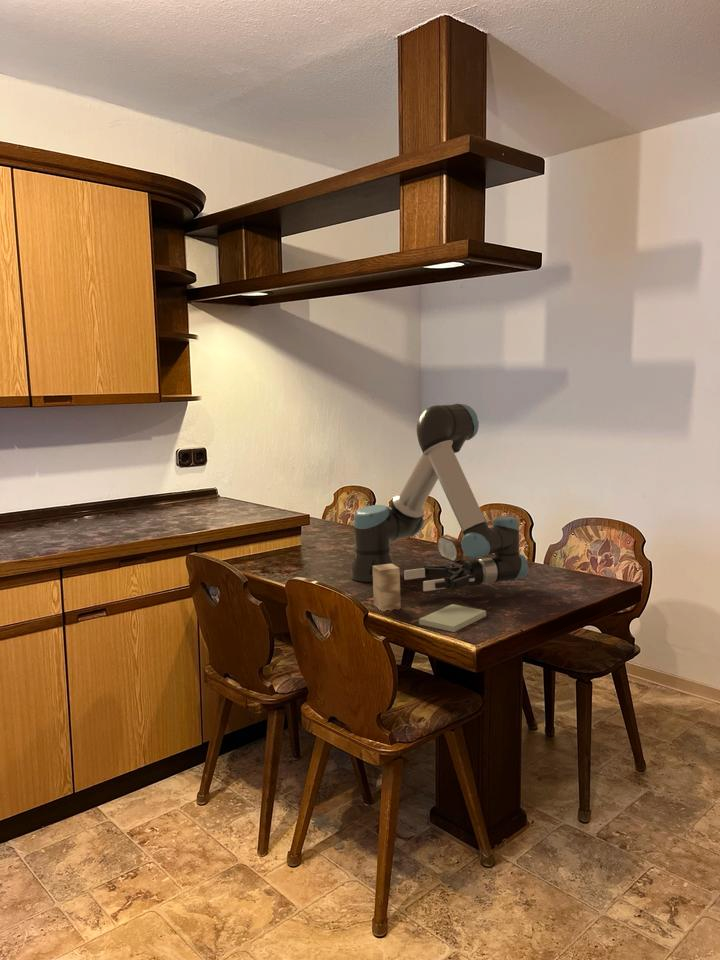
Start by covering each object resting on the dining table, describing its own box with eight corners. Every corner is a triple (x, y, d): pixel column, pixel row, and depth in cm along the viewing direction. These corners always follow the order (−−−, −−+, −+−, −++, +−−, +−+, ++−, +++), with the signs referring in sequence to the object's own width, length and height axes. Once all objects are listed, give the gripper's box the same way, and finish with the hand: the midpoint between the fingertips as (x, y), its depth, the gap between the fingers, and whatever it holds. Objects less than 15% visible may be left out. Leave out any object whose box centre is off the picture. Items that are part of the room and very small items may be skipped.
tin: (464, 563, 259) (463, 540, 258) (456, 564, 258) (456, 541, 257) (444, 554, 273) (443, 532, 272) (436, 555, 272) (436, 533, 271)
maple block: (392, 603, 215) (391, 563, 213) (400, 608, 209) (399, 568, 208) (373, 605, 213) (372, 565, 211) (381, 611, 207) (379, 570, 206)
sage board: (452, 609, 207) (452, 604, 207) (486, 616, 200) (486, 610, 200) (419, 624, 195) (418, 618, 195) (453, 632, 188) (453, 626, 188)
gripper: (500, 594, 208) (432, 604, 201) (459, 574, 232) (397, 582, 225) (499, 569, 207) (431, 578, 200) (459, 551, 231) (397, 559, 224)
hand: (413, 580), depth 213 cm, fingers open, 13 cm apart
